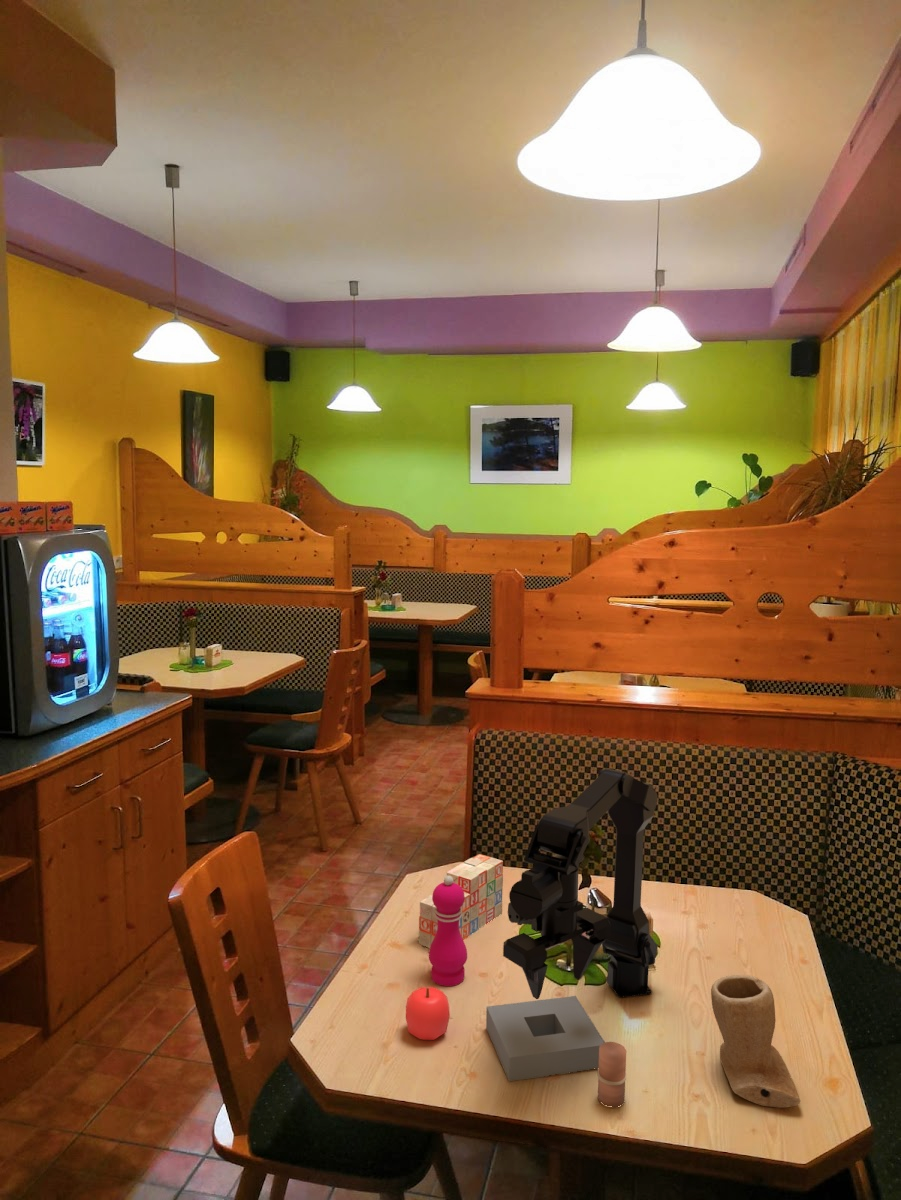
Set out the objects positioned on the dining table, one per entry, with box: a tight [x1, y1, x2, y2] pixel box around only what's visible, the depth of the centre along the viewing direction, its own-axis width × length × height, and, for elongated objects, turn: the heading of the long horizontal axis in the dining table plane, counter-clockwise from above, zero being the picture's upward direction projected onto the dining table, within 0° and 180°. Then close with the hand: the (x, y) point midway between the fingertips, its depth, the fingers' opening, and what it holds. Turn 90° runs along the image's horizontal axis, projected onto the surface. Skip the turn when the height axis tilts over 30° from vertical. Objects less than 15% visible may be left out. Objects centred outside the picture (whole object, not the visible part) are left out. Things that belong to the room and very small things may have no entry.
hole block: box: [485, 995, 605, 1082], centre depth 148 cm, size 16×14×4 cm
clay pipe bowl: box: [710, 974, 801, 1108], centre depth 140 cm, size 15×12×15 cm
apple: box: [405, 986, 450, 1041], centre depth 152 cm, size 8×8×8 cm
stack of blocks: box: [418, 853, 504, 949], centre depth 187 cm, size 21×6×12 cm, turn 143°
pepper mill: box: [428, 875, 468, 987], centre depth 168 cm, size 7×7×20 cm
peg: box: [597, 1041, 627, 1108], centre depth 135 cm, size 4×4×8 cm
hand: (556, 988), depth 143 cm, fingers open, 9 cm apart
